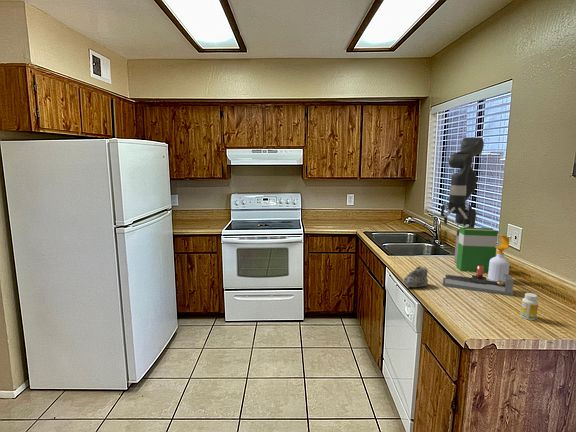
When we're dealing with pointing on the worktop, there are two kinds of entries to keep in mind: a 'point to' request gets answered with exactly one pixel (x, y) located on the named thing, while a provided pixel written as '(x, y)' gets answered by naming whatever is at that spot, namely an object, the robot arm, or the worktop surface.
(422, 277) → the mineral rock
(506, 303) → the worktop surface
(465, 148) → the robot arm
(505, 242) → the soap bottle
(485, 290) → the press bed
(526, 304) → the supplement bottle
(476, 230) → the hardback book
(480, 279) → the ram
